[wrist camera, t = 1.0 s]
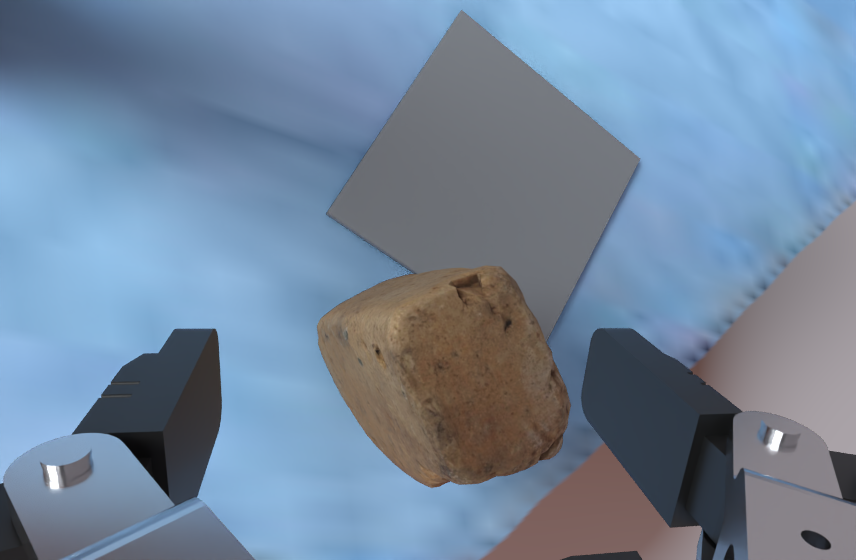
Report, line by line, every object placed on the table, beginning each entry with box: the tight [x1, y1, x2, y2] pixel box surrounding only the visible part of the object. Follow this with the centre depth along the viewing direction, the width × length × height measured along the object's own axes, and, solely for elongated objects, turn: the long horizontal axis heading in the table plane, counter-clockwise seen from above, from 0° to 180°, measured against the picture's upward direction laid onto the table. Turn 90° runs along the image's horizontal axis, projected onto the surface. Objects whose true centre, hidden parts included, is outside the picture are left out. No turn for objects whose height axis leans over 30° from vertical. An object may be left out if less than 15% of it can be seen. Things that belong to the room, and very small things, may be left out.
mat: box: [326, 10, 640, 341], centre depth 44 cm, size 20×20×1 cm
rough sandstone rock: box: [317, 265, 571, 488], centre depth 31 cm, size 11×8×20 cm
